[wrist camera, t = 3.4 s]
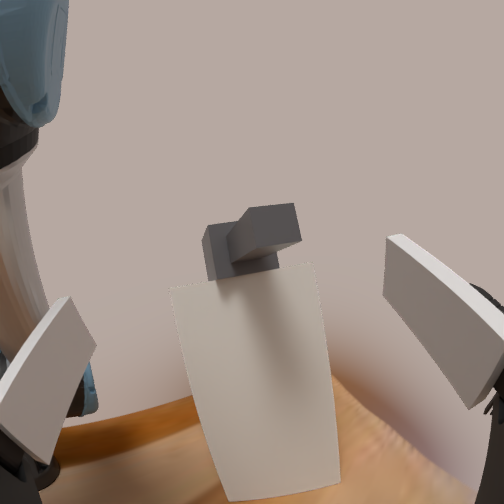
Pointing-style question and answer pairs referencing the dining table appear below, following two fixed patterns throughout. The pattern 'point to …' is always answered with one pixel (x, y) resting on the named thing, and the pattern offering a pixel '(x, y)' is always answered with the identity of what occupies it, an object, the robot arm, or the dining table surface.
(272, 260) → the plug
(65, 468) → the dining table surface
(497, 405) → the robot arm
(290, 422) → the pillar
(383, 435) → the dining table surface
